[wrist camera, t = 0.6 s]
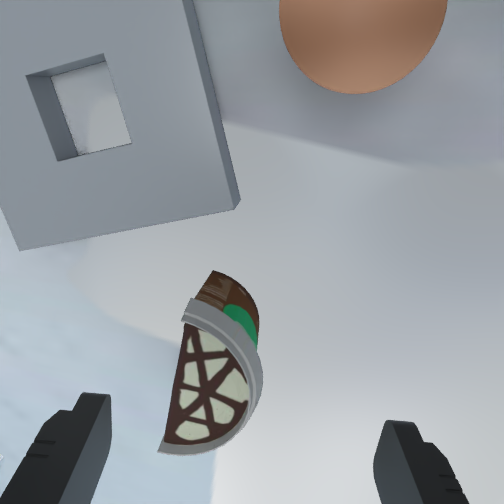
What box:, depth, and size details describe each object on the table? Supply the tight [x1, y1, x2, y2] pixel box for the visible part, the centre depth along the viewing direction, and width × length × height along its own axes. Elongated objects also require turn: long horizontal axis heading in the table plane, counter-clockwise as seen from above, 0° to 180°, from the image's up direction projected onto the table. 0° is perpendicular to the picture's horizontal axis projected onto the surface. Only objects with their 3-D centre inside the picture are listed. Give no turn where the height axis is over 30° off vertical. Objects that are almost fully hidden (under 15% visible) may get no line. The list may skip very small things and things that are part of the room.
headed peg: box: [279, 0, 448, 94], centre depth 22 cm, size 6×6×16 cm
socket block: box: [0, 0, 241, 251], centre depth 31 cm, size 18×18×3 cm
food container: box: [157, 270, 263, 456], centre depth 33 cm, size 12×6×10 cm, turn 168°
